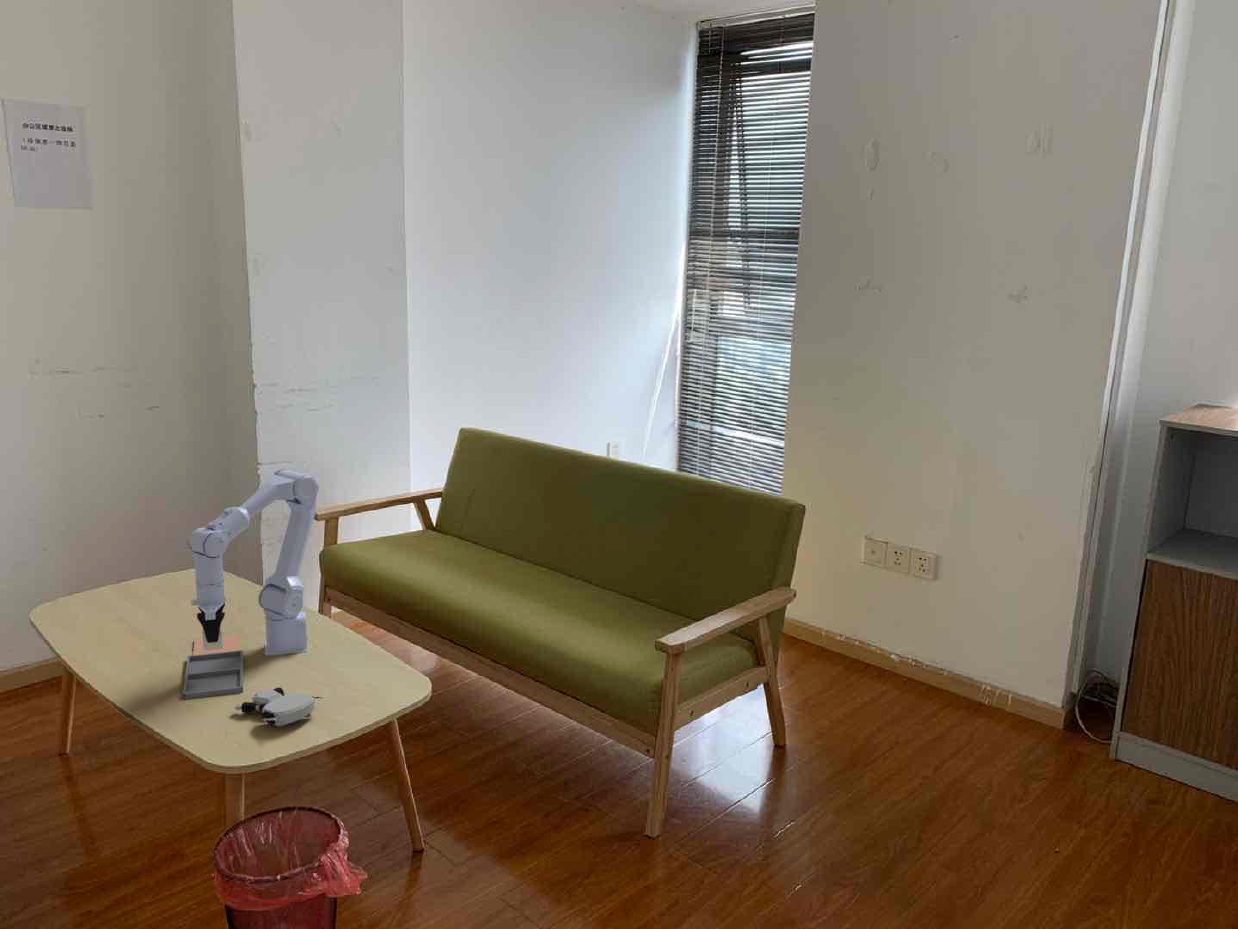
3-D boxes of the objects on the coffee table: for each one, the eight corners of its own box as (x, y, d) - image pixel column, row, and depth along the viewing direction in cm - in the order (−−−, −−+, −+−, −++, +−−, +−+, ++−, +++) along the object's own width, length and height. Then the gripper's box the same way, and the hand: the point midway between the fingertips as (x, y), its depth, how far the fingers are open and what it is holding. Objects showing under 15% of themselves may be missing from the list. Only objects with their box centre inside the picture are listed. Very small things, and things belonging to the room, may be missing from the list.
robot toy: (231, 720, 199) (279, 737, 191) (229, 700, 198) (277, 716, 190) (279, 698, 209) (326, 714, 201) (278, 679, 208) (325, 694, 200)
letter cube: (223, 641, 217) (222, 624, 216) (222, 648, 213) (221, 631, 212) (203, 643, 215) (202, 626, 214) (203, 650, 212) (202, 633, 211)
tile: (238, 636, 237) (238, 634, 237) (238, 653, 228) (238, 650, 228) (195, 641, 233) (194, 638, 233) (193, 657, 224) (192, 655, 224)
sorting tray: (242, 656, 226) (242, 650, 226) (243, 693, 208) (242, 687, 208) (188, 661, 222) (187, 655, 222) (183, 700, 204) (182, 694, 204)
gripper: (191, 571, 216) (194, 627, 219) (188, 594, 203) (192, 653, 206) (224, 569, 218) (227, 624, 221) (224, 591, 205) (227, 649, 208)
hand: (212, 637), depth 214 cm, fingers closed on letter cube, 4 cm apart
